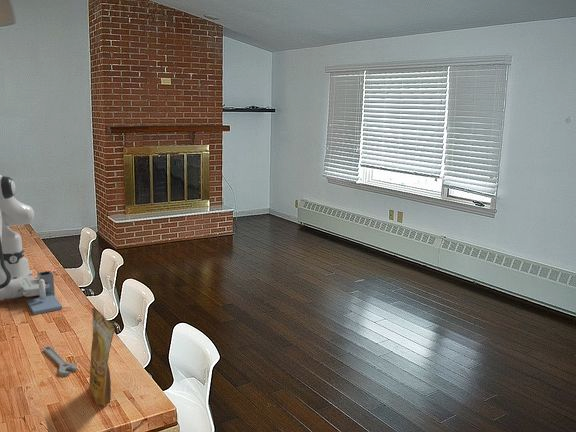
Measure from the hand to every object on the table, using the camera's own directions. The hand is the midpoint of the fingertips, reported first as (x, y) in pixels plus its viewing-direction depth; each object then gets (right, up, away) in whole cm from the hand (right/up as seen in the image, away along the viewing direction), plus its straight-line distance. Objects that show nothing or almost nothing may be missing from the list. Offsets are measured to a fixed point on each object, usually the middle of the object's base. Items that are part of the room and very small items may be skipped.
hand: (47, 282), depth 264 cm
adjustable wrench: (+32, -22, -62) cm, 73 cm away
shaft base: (+4, -9, -13) cm, 16 cm away
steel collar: (-1, -6, +1) cm, 6 cm away
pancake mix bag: (+55, -27, -83) cm, 103 cm away
